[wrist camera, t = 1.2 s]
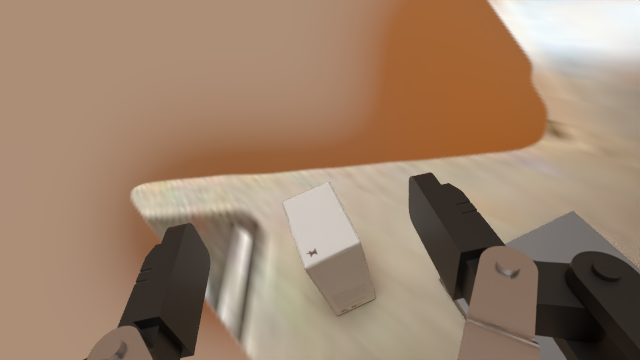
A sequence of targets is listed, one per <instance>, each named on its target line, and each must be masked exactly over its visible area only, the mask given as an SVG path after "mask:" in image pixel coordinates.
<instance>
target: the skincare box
mask: <svg viewBox="0 0 640 360" xmlns="http://www.w3.org/2000/svg"><path fill="white" fill-rule="evenodd" d="M282 205H283V208H284V211H285V214H286V217H287V220H288V223H289V226H290V230H291V233H292V236H293V238H294V241H295V244H296V247H297V250H298V252H299V255H300V258H301V261H302V263H303V266H304V269H305V270H306V272H307V274H308V275H309V277H310V278H311V279H312V281H313V282H314V284H315V285H316V286H317V288H318V289H319V291H320V292H321V294H322V295H323V297H324V298H325V300H326V301H327V302H328V304H329V305H330V307H331V308H332V310H333V311H334V313H335V314H336V315H337V316H338V315H341V314H343V313H345V312H347V311H349V310H351V309H354V308H356V307H358V306H360V305H362V304H364V303H367V302H369V301H371V300H373V299H375V298H376V295H375V292H374V288H373V285H372V281H371V277H370V274H369V270H368V267H367V263H366V259H365V256H364V252H363V249H362V245H361V242H360V240H359V237H358V235H357V233H356V231H355V229H354V227H353V225H352V223H351V221H350V219H349V217H348V216H347V214H346V212H345V210H344V208H343V207H342V205H341V203H340V201H339V199H338V197H337V195H336V193H335V191H334V189H333V188H332V186H331V184H330V182H326V183H324V184H322V185H320V186H318V187H315V188H313V189H311V190H309V191H306V192H304V193H301V194H299V195H297V196H294V197H292V198H289V199H287V200H284V201H283V202H282Z"/></svg>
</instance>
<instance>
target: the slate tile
mask: <svg viewBox="0 0 640 360" xmlns="http://www.w3.org/2000/svg"><path fill="white" fill-rule="evenodd" d="M505 245H506V246H507V247H511V248H514V249H517V250H519V251H521V252H523V253H525V254H526V255H527V256H529V257H530V258H531V259H532V260H535V261H542V262H558V263H571V261H572V259H573V258H574V256H575V255H577V254H578V253H581V252H584V251H598V252H603V253H607V254H610V255H613V256H615V257H617V258H619V259H621V260H623V261H625V262H626V263H628V264H629V265H630V266H631V267H633V268H634V269H635V270H636V271H637V272H638V273H639V274H640V269H639V268H638V267H636V266H635V265H634V264H633V263H632V262H631V261H630V260H628V259H627V258H626V257H625V256H624V255H623V254H622V253H620V252H619V251H618V250H617V249H616V248H615V247H614V246H612V245H611V244H610V243H609V242H608V241H607V240H606V239H604V238H603V237H602V236H601V235H600V234H599V233H598V232H596V231H595V230H594V229H593V228H592V227H591V226H590V225H589V224H587V223H586V222H585V221H584V220H583V219H582V218H581V217H579V216H578V215H577V214H576V213H575V212H574V211H572V212H570V213H568V214H566V215H564V216H561V217H559V218H557V219H555V220H553V221H551V222H549V223H547V224H545V225H543V226H541V227H539V228H537V229H535V230H533V231H531V232H529V233H527V234H525V235H523V236H521V237H519V238H517V239H515V240H513V241H511V242H509V243H507V244H505ZM440 281H441V283H442V284H443V286H444V287H445V289H446V290H447V288H446V286H445V285H444V283H443V281H442V279H441V277H440ZM447 292H448V290H447ZM448 293H449V292H448ZM449 295H450V294H449ZM453 301H454V302H455V304H456V305H457V307H458V308H459V310H460V311H461V313H462V314H463V316H464V317H465V319H466V318H467V314H468V309H469V306H468V305H467V303H466V301H465V299H464V298H462V299H458V300H453ZM535 342H537V343H538V344H539V348H540V360H567V359H566V357H565V356H564V354H563V353H562V351H561V350H560V348H559V347H558V345H557V344H556V342H555V341H554V339H553V338H552V337H545V336H537V335H535Z"/></svg>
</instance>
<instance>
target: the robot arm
mask: <svg viewBox="0 0 640 360" xmlns="http://www.w3.org/2000/svg"><path fill="white" fill-rule="evenodd" d="M409 214H410V218H411V221H412V223H413V225H414V227H415V229H416V231H417V233H418V235H419V237H420V239H421V241H422V243H423V245H424V246H425V248H426V250H427V252H428V254H429V256H430V258H431V260H432V262H433V264H434V265H435V267H436V269H437V271H438V273H439V275H440V277H441V279H442V281H443V283H444V285H445V286H446V288H447V290H448V292H449V294H450V296H451V298H452V300H458V299H462V298H464V299H465V301H466V303H467V305H468V306H469V309H468V314H467V318H466V323H465V327H464V332H463V337H462V341H461V346H460V350H459V355H458V360H540V348H539V344H538V343H537V342H535V335H537V336H545V337H552V338H553V339H554V341H555V342H556V344H557V345H558V347H559V348H560V350H561V351H562V353H563V354H564V356H565V357H566V359H567V360H640V274H639V273H638V272H637V271H636V270H635V269H634V268H633V267H631V266H630V265H629V264H628V263H626V262H625V261H623V260H621V259H619V258H617V257H615V256H613V255H610V254H607V253H603V252H598V251H584V252H581V253H578V254H577V255H575V256H574V258H573V259H572V261H571V263H558V262H542V261H535V260H532V259H531V258H530V257H529V256H527V255H526V254H525V253H523V252H521V251H519V250H517V249H514V248H511V247H507V246H506V245H505V244H504V243H503V242H502V241H501V239H500V238H499V237H498V236H497V234H496V233H495V232H494V231H493V229H492V228H491V227H490V226H489V224H488V223H487V222H486V221H485V219H484V218H483V217H482V216H481V214H480V213H479V212H477V209H476V208H475V207H474V206H473V204H472V203H470V201H469V199H468V198H467V197H466V196H465V194H464V193H463V192H462V191H461V190H459V189H458V188H456V187H454V186H453V185H451V184H449V183H447V184H443V185H441V184H440V183H439V181H438V180H437V179H436V177H435V176H434V175H433V174H432V173H426V174H421V175H416V176H412V177H410V178H409ZM209 270H210V256H209V252H208V250H207V248H206V246H205V245H204V243H203V241H202V240H201V238H200V236H199V234H198V233H197V231H196V229H195V227H194V226H193V225H192V224H191V223H188V224H183V225H178V226H174V227H169V228H168V229H167V230H166V232H165V235H164V238H163V240H162V243H161V244H158V245H156V246H155V247H154V248H153V249H152V250H151V252H150V253H149V254H148V255H147V256H146V258H145V261H144V263H143V265H142V268H141V270H140V271H141V273H139V275H138V278H137V280H136V284H135V285H134V288H133V290H132V293H131V295H130V298H129V300H128V303H127V305H126V308H125V310H124V313H123V315H122V318H121V320H120V323H119V325H118V327H117V328H116V329H114V330H112V331H111V332H109V333H108V334H106V335H105V336H104V337H102V338H101V339H100V340H99V341H98V342H97V344H96V345H95V346H94V347H93V349H92V350H91V352H90V354H89V356H88V358H86V359H84V360H180V358H183V357H188V356H193V355H194V351H195V345H196V341H197V335H198V330H199V324H200V319H201V314H202V308H203V303H204V297H205V292H206V287H207V281H208V276H209Z"/></svg>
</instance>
